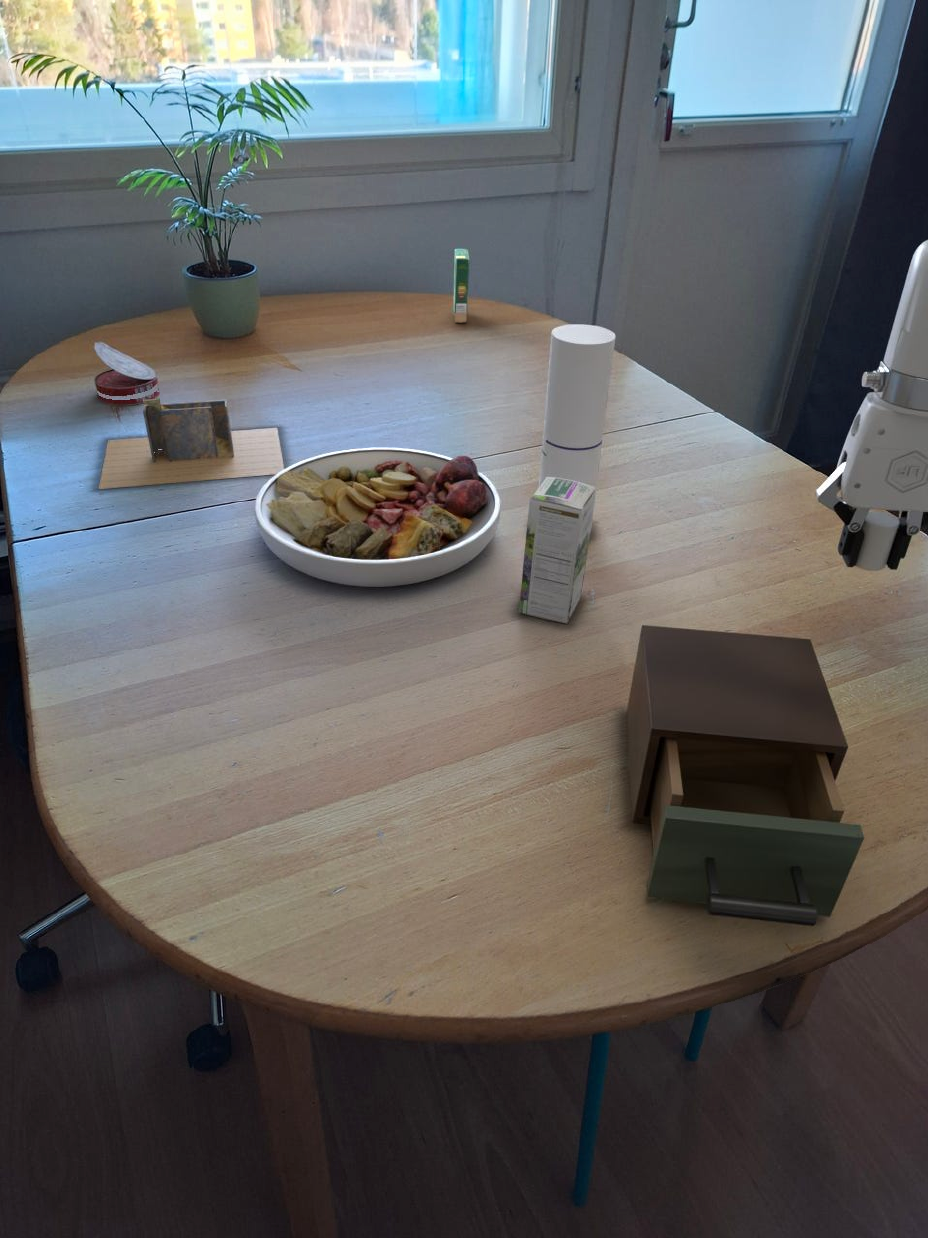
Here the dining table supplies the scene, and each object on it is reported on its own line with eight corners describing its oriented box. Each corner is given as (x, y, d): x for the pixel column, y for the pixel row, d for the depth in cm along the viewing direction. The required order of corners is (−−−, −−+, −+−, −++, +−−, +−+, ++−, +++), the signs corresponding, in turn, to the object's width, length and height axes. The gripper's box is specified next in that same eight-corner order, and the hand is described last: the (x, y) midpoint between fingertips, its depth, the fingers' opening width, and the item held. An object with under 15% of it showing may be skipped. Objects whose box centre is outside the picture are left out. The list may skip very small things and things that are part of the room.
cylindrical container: (560, 548, 108) (581, 348, 94) (524, 524, 113) (538, 330, 99) (602, 532, 112) (628, 337, 97) (565, 509, 117) (585, 320, 102)
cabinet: (812, 841, 71) (848, 746, 65) (632, 822, 72) (651, 728, 66) (781, 728, 82) (810, 638, 76) (626, 714, 83) (641, 624, 77)
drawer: (845, 972, 61) (883, 892, 56) (650, 950, 62) (670, 870, 57) (796, 792, 74) (824, 715, 69) (638, 777, 76) (653, 700, 70)
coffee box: (467, 323, 182) (469, 257, 174) (454, 323, 182) (455, 257, 174) (466, 312, 188) (468, 248, 181) (453, 312, 188) (454, 247, 181)
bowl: (325, 630, 93) (320, 568, 89) (222, 513, 113) (214, 458, 109) (546, 554, 107) (552, 497, 103) (420, 462, 127) (420, 411, 123)
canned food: (126, 410, 152) (131, 351, 151) (170, 415, 148) (176, 354, 147) (72, 399, 142) (77, 336, 141) (118, 404, 138) (123, 339, 136)
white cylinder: (880, 554, 90) (893, 511, 87) (889, 572, 88) (904, 528, 85) (846, 552, 91) (858, 510, 88) (854, 570, 88) (867, 526, 85)
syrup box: (533, 587, 101) (543, 473, 93) (583, 599, 99) (597, 484, 91) (518, 613, 97) (526, 496, 88) (569, 626, 95) (583, 508, 87)
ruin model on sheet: (98, 489, 118) (81, 421, 113) (108, 440, 131) (93, 376, 125) (285, 473, 123) (278, 407, 118) (277, 427, 136) (270, 366, 131)
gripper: (837, 397, 76) (791, 576, 87) (1036, 406, 75) (965, 586, 85) (818, 369, 82) (778, 539, 93) (1002, 376, 81) (940, 548, 91)
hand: (868, 560), depth 89 cm, fingers closed on white cylinder, 3 cm apart
